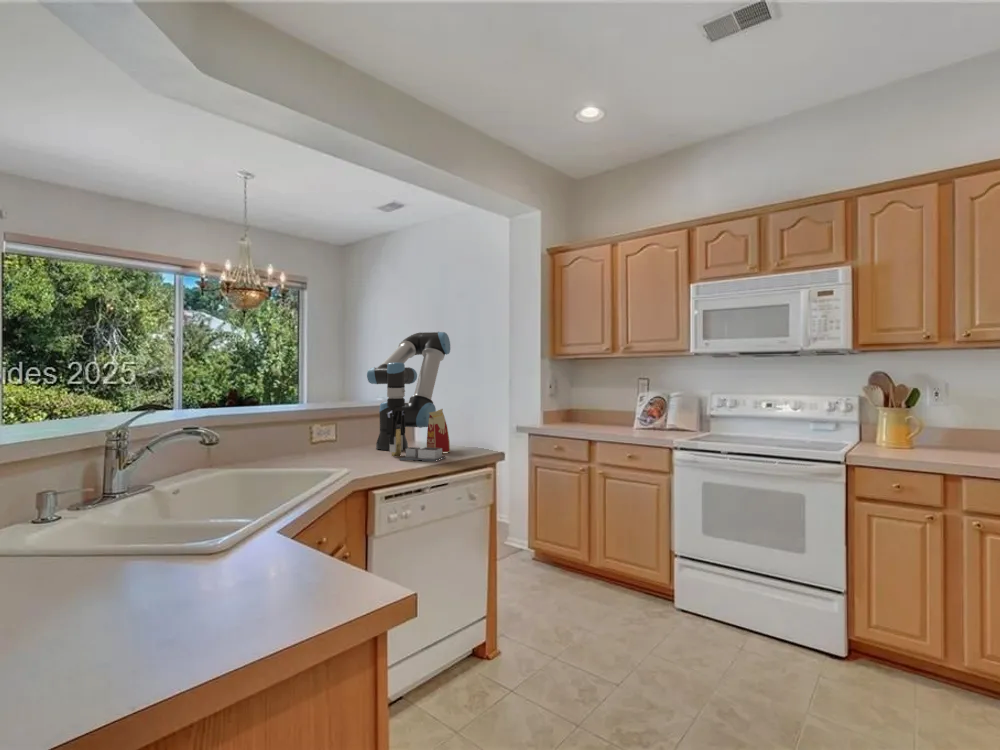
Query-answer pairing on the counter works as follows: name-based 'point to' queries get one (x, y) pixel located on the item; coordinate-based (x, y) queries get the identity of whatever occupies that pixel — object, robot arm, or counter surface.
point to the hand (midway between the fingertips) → (396, 450)
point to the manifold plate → (423, 454)
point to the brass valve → (397, 440)
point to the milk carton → (438, 431)
